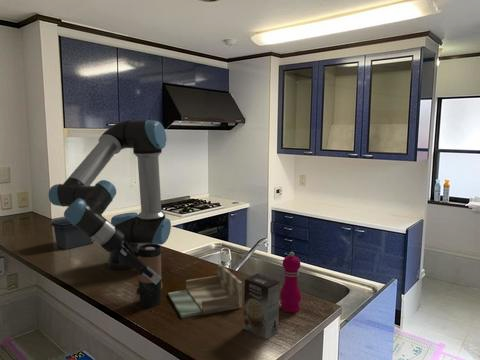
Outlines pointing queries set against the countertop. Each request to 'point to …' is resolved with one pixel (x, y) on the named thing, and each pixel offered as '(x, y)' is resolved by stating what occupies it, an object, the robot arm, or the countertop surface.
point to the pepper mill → (290, 284)
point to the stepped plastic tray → (209, 294)
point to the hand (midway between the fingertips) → (154, 274)
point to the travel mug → (147, 288)
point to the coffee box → (261, 305)
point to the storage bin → (69, 234)
